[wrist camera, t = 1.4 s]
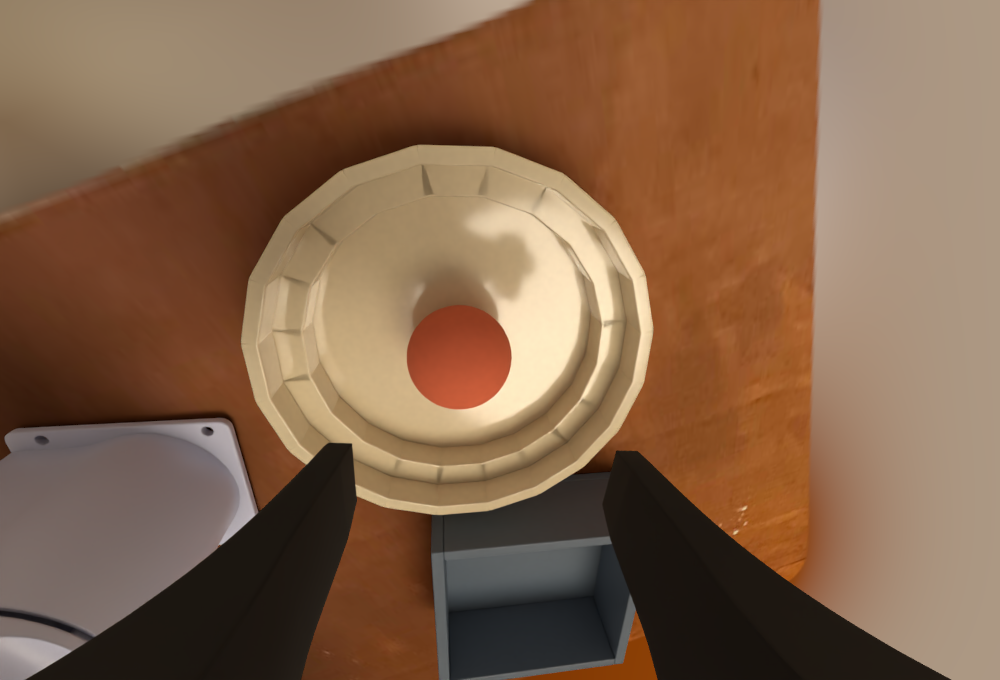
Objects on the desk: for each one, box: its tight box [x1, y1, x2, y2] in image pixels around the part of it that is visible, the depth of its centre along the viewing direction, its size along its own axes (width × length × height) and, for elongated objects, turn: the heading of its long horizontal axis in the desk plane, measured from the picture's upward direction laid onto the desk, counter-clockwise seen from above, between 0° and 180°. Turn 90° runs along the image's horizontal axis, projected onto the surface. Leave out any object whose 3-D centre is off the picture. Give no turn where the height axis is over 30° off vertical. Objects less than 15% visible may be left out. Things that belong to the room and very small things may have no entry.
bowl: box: [241, 145, 653, 515], centre depth 18 cm, size 16×16×4 cm
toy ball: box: [407, 305, 512, 410], centre depth 18 cm, size 4×4×4 cm
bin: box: [431, 472, 636, 680], centre depth 25 cm, size 11×11×4 cm
